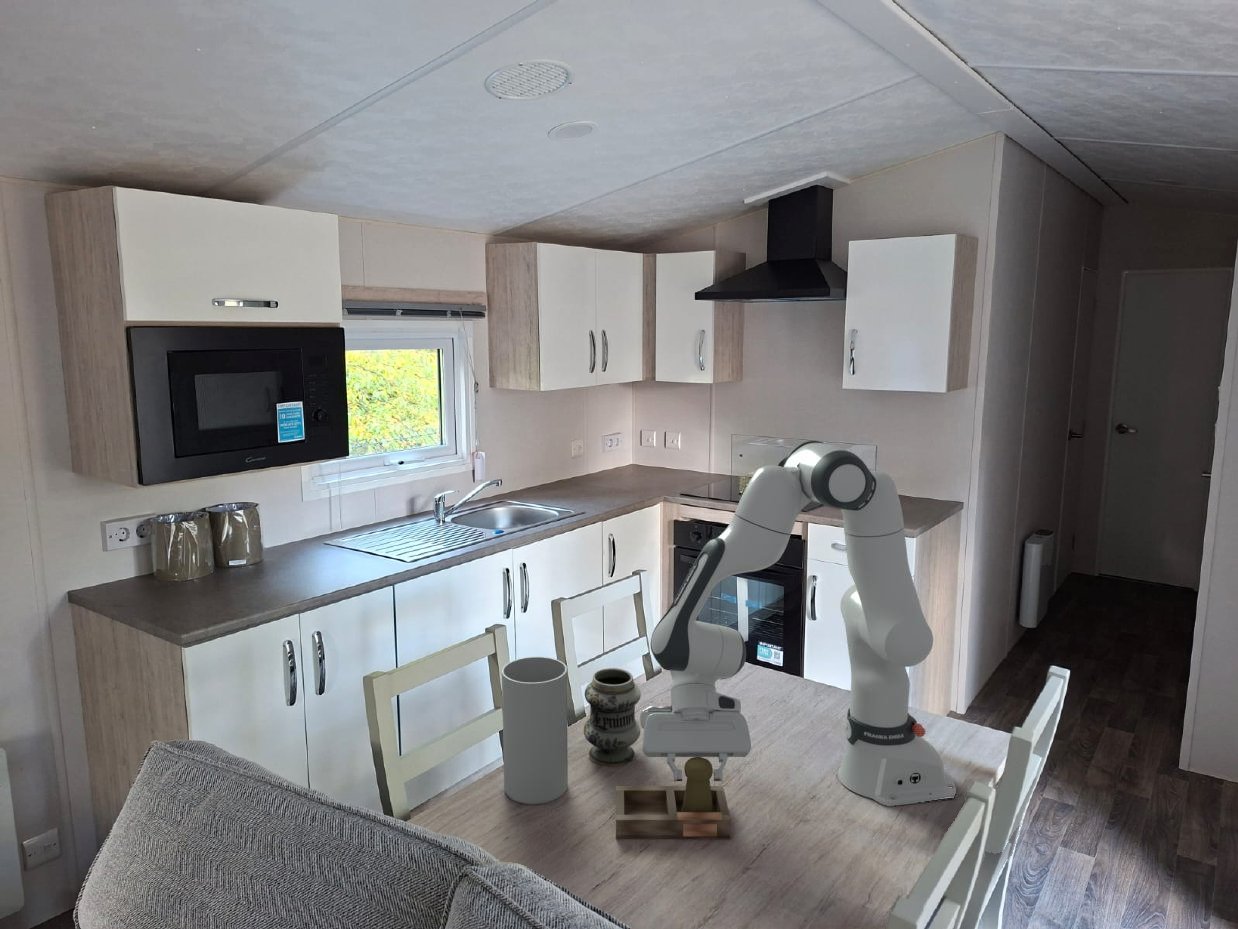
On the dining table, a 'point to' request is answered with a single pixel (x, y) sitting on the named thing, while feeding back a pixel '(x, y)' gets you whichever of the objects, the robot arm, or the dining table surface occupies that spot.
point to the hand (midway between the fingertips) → (698, 780)
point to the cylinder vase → (535, 729)
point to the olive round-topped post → (698, 786)
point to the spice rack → (668, 814)
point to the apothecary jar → (612, 717)
